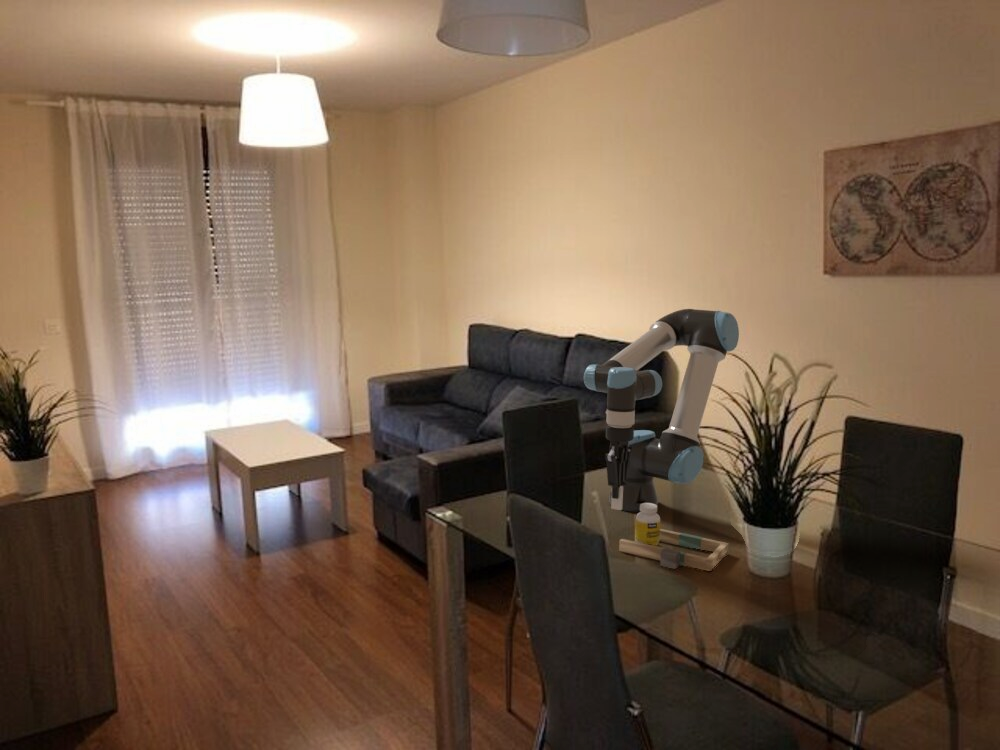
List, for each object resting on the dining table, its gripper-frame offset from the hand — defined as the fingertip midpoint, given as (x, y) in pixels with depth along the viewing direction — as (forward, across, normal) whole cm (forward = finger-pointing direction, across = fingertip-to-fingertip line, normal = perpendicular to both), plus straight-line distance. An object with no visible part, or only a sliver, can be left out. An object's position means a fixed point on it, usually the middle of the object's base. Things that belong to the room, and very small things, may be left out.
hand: (616, 508), depth 224 cm
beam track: (+9, +1, +17) cm, 19 cm away
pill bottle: (+9, -1, +9) cm, 13 cm away
